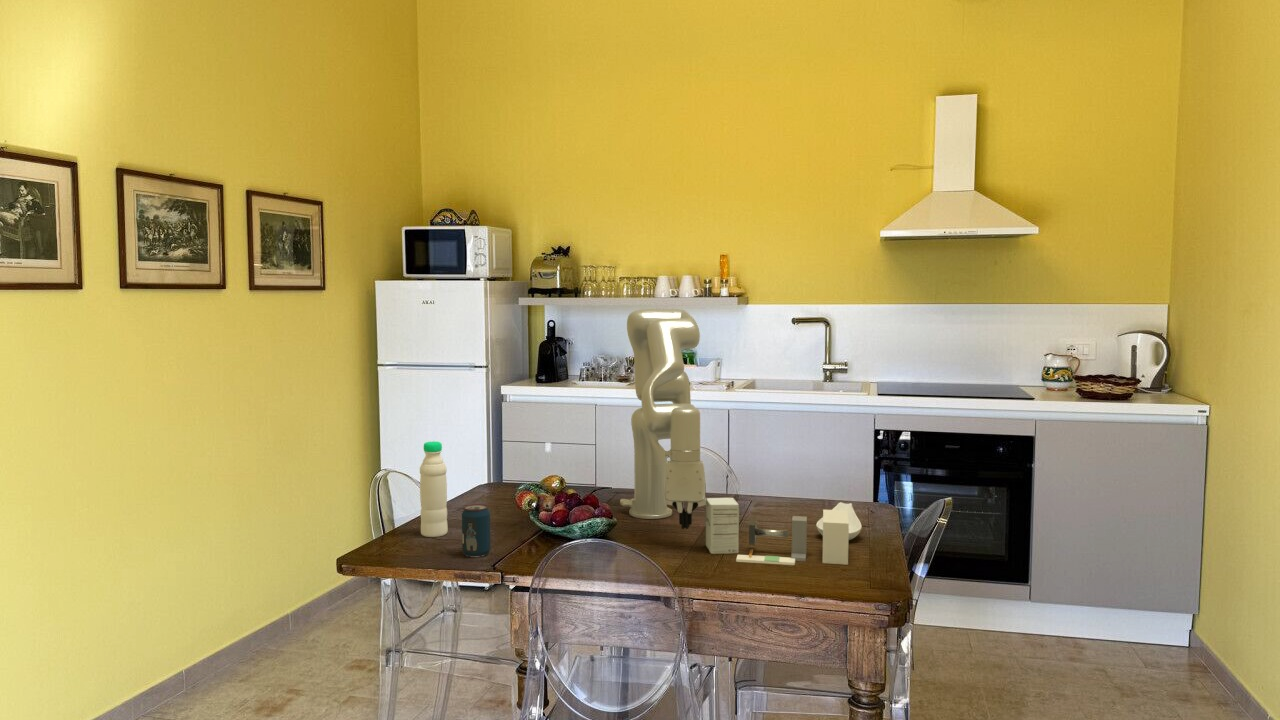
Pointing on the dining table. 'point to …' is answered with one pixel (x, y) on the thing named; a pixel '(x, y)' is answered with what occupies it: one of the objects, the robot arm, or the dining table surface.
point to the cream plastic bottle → (433, 492)
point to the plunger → (762, 533)
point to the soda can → (476, 530)
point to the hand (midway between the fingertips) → (685, 527)
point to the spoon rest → (852, 518)
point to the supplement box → (722, 525)
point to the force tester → (832, 541)
